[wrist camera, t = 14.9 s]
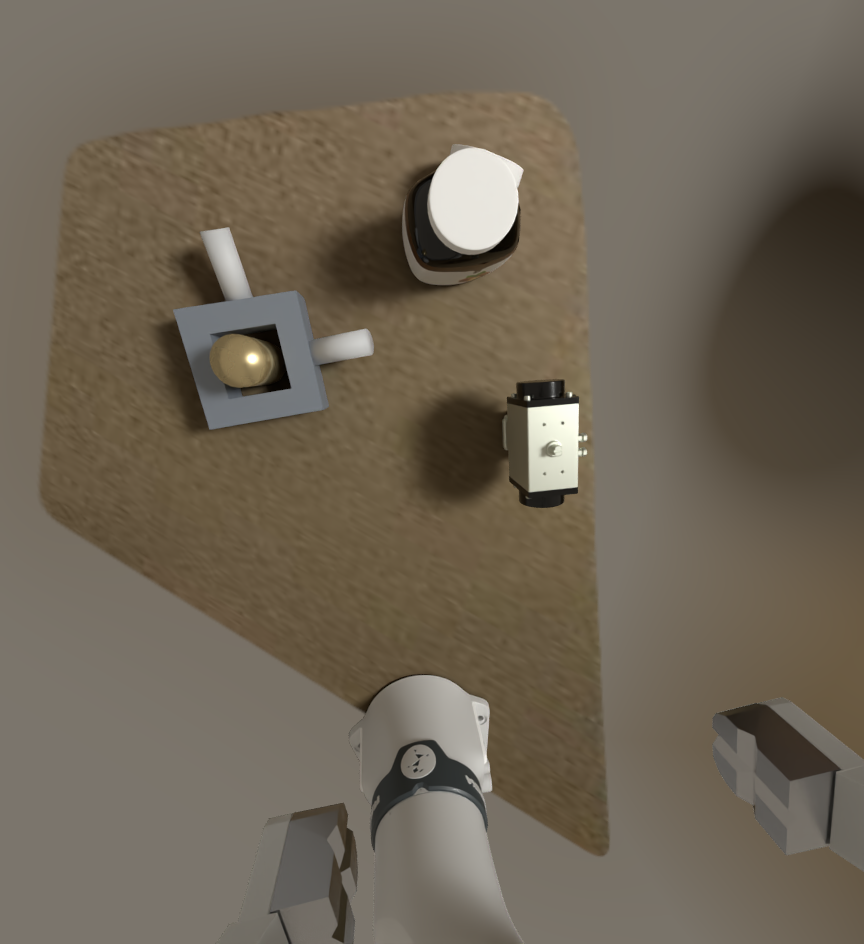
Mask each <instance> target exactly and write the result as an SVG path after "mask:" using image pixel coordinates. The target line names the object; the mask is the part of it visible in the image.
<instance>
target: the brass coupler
mask: <svg viewBox="0 0 864 944" xmlns="http://www.w3.org/2000/svg"><path fill="white" fill-rule="evenodd" d="M210 365H211V368H212V370H213V372H214V374H215V375H216V376H217V377H218V378H219V379H220V380H221V381H222V382H223V383H225V384H227V385H229V386H232V387H237V388H242V387H251V386H261V385H270V384H274V383H276V382H278V381H279V380H280V379H281V378H282V377H283V375H284V373H285V370H286V364H285V360H284V356H283V353H282V351H281V350H280V349H279V348H278V347H277V346H276V345H274V344H273V343H270V342H267V341H263V340H259V339H256V338H252V337H248V336H244V335H240V334H228V335H225V336H222V337H221V338H219V339H218V340H217V341H216V342H215V343H214V344H213V346H212V348H211V351H210Z"/></svg>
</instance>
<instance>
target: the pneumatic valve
mask: <svg viewBox="0 0 864 944" xmlns="http://www.w3.org/2000/svg"><path fill="white" fill-rule="evenodd" d="M516 389H517V394H511V397H507V415H505V416H504V419H503V420H502V434H503V448H505V450H509V482H511V483H512V484H513V485H514V487H515V488H517V489H518V490H519V501H520V503H522V504H523V505H526V506H529V507H536V508H549V507H555V506H559V505H561V504H562V503H563V502H564V495H569V494H577V493H578V457H580V456H586V454H587V450H586V448H584V447H582V448H581V449H580V448H578V442H585V441H586V440H587V435H586V433H581V434H580V433H578V428H579V397H578V396H576V395H572V392H566V394H565V380H564V379H552V380H535V381H524V382H517V383H516Z"/></svg>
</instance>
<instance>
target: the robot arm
mask: <svg viewBox="0 0 864 944" xmlns="http://www.w3.org/2000/svg"><path fill="white" fill-rule="evenodd" d="M489 713H490V711H489V705H488V702H487V701H486V700H484V699H482V698H479V697H476V696H473V695H469V694H468V693H466V692H465V691H464V690H463V689H461V688H460V687H459V686H458V685H456V684H455V683H453V682H451V681H450V680H447V679H445V678H442V677H438V676H432V675H417V676H411V677H407V678H404V679H401V680H398V681H396V682H394V683H392V684H390V685H389V686H387V687H386V688H384V689H383V690H382V691H381V692H380V693H379V694H378V695H377V696H376V697H375V698H374V700H373V701H372V702H371V704H370V706H369V708H368V710H367V712H366V714H365V716H364V718H363V719H362V720H361V721H360V722H358V723H357V724H356V725H355V726H354V727H353V728H352V729H351V730H350V732H349V743H350V745H351V747H352V749H353V750H354V752H355V754H356V756H357V758H358V760H359V761H360V791H361V792H363V793H364V795H365V798H366V799H367V801H368V802H369V804H370V805H371V807H372V808H371V809H372V810H371V816H370V830H371V842H372V847H373V850H374V852H375V868H374V914H373V916H374V917H373V935H374V936H373V937H374V942H375V944H525V943H524V942H523V940H522V939H521V937H520V936H519V934H518V932H517V930H516V928H515V926H514V925H513V923H512V920H511V918H510V916H509V914H508V911H507V908H506V905H505V903H504V900H503V896H502V893H501V889H500V886H499V882H498V879H497V875H496V871H495V867H494V863H493V859H492V855H491V851H490V847H489V842H488V838H487V834H486V833H487V826H488V824H487V813H486V804H485V800H484V797H483V792H490V791H492V781H491V775H490V766H489V761H488V759H487V756H486V754H487V740H488V727H489ZM478 716H480V717H478ZM713 729H714V730H715V731H716V732H717V733H718V734H719V735H718V737H717V738H716V740H715V741H714V743H713V757H714V760H715V762H716V765H717V768H718V770H719V772H720V774H721V775H722V777H723V779H724V780H725V782H726V783H727V785H728V786H729V787H730V788H731V790H732V791H733V792H734V793H735V795H736V796H738V797H740V798H741V799H743V800H745V801H747V802H748V803H750V804H752V805H753V808H754V814H755V819H756V820H757V821H758V822H759V824H760V825H761V826H762V827H763V828H764V829H765V831H766V832H767V833H768V834H769V835H770V837H771V838H772V839H773V840H774V841H775V843H776V844H777V845H778V846H779V847H780V849H781V850H782V851H783V852H784V853H785V855H790V854H794V853H799V852H803V851H808V850H812V849H817V848H821V847H825V846H830V847H829V849H830V850H832V851H833V852H835V853H836V854H838V855H839V856H841V857H842V858H844V859H846V860H847V861H849V862H850V863H852V864H853V865H855V866H856V867H858V868H859V869H861V870H862V871H864V760H863V759H862V758H861V757H860V756H858V755H857V754H856V753H855V752H853V751H852V750H851V749H850V748H848V747H847V746H846V745H844V744H843V743H842V742H841V741H840V740H838V739H837V738H836V737H835V736H833V735H832V734H831V733H830V732H828V731H827V730H826V729H825V728H823V727H822V726H821V725H819V724H818V723H817V722H816V721H815V720H813V719H812V718H811V717H810V716H808V715H807V714H806V713H805V712H803V711H802V710H801V709H800V708H798V707H797V706H796V705H795V704H793V703H792V702H791V701H789V700H787V699H785V698H778V699H773V700H769V701H765V702H760V703H754V704H750V705H746V706H742V707H738V708H734V709H730V710H727V711H722V712H719V713H716V714H715V716H714V717H713ZM347 820H348V814H347V811H346V808H345V805H344V803H340V804H335V805H330V806H326V807H320V808H316V809H311V810H306V811H301V812H296V813H292V814H287V815H283V816H278V817H274V818H270V819H269V820H268V822H267V824H266V825H265V827H264V829H263V832H262V836H261V840H260V843H259V847H258V850H257V854H256V858H255V861H254V865H253V868H252V872H251V876H250V879H249V883H248V887H247V890H246V894H245V898H244V901H243V905H242V908H241V912H240V916H239V919H238V922H235V923H232V924H230V925H229V926H228V927H227V928H226V930H225V931H224V933H223V934H222V935H221V937H220V938H219V940H218V941H217V942H216V944H354V930H355V919H354V915H353V912H352V908H351V905H350V902H351V901H352V899H353V897H354V895H355V894H356V892H357V877H358V866H357V850H356V843H355V838H354V835H353V831H352V830H350V829H348V828H347Z"/></svg>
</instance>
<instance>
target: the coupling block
mask: <svg viewBox="0 0 864 944" xmlns="http://www.w3.org/2000/svg"><path fill="white" fill-rule="evenodd" d="M200 234H201V237H202V240H203V242H204V245H205V247H206V250H207V253H208V255H209V258H210V261H211V263H212V266H213V268H214V271H215V274H216V276H217V279H218V282H219V284H220V287H221V290H222V292H223V295H224V297H225V300H226V302H219V303H213V304H206V305H200V306H194V307H187V308H181V309H174V310H173V311H174V314H175V317H176V321H177V324H178V327H179V330H180V334H181V337H182V340H183V344H184V347H185V350H186V353H187V357H188V360H189V363H190V367H191V370H192V373H193V377H194V380H195V383H196V386H197V390H198V393H199V396H200V400H201V403H202V406H203V409H204V413H205V416H206V419H207V423H208V426H209V429H210V430H211V429H217V428H222V427H228V426H234V425H239V424H245V423H251V422H256V421H262V420H268V419H273V418H279V417H285V416H291V415H296V414H302V413H308V412H313V411H319V410H324V409H326V408H327V407H329V405H328V400H327V396H326V391H325V387H324V383H323V378H322V374H321V370H320V364H326V363H331V362H337V361H342V360H347V359H353V358H358V357H363V356H369V355H372V354H373V352H374V344H373V339H372V336H371V334H370V332H369V331H368V330H367V329H362V330H357V331H353V332H348V333H343V334H338V335H333V336H328V337H323V338H319V339H313V334H312V330H311V326H310V321H309V317H308V312H307V308H306V304H305V299H304V297H302V296H301V295H300V294H299V293H298V292H297V291H289V292H283V293H277V294H270V295H264V296H258V297H253V296H252V293H251V290H250V287H249V284H248V282H247V279H246V276H245V273H244V270H243V267H242V264H241V261H240V258H239V255H238V252H237V250H236V247H235V244H234V241H233V238H232V235H231V232H230V229H229V228H222V229H215V230H209V231H203V232H200ZM270 330H277V332H278V336H279V340H280V344H281V348H282V352H283V356H284V360H285V364H286V368H287V372H288V376H289V380H290V384H291V388H292V389H286V390H280V391H274V392H268V393H262V394H257V395H251V396H245V397H243V396H242V393H241V389H240V388H237V387H232V386H229V385H227V384H225V383H223V382H222V381H221V380H220V379H219V378H218V377H217V376H216V375H215V374H214V372H213V370H212V368H211V365H210V351H211V348H212V346H213V344H214V343H215V342H216V341H217V340H218V339H219V338H221V337H222V336H225V335H228V334H240V335H246V334H252V333H258V332H264V331H270Z"/></svg>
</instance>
